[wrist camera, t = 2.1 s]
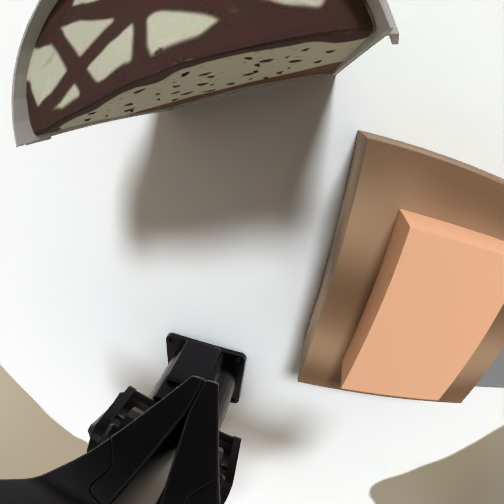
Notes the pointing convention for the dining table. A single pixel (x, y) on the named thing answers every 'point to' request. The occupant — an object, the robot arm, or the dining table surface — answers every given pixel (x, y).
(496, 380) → the mat
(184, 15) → the food container
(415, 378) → the peach block
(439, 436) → the dining table surface
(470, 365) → the brown flat block
